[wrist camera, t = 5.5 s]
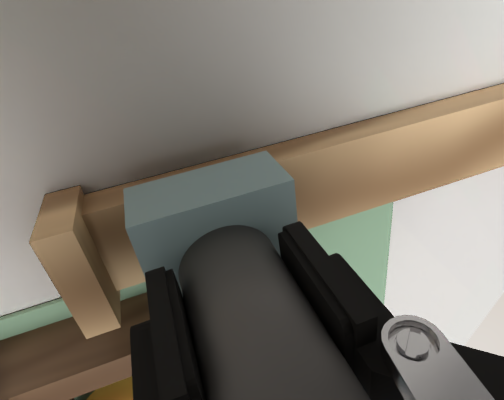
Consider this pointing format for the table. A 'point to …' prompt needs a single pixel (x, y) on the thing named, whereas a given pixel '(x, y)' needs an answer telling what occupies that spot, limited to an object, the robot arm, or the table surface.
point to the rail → (306, 190)
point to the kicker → (238, 280)
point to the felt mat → (327, 235)
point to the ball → (114, 391)
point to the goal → (68, 357)
